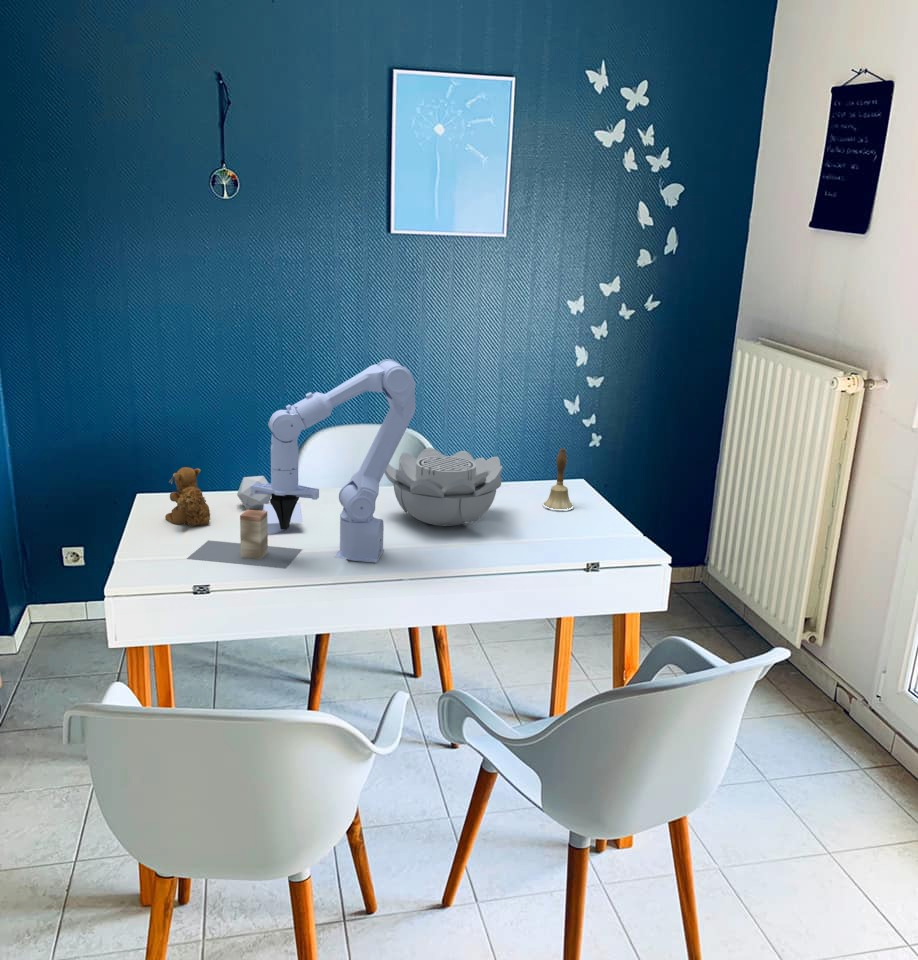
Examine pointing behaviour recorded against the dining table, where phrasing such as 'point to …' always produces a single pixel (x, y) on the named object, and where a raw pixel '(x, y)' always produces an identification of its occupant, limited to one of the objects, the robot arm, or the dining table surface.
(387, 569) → the dining table surface
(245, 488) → the die
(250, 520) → the maple block
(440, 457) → the decorative bowl
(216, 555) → the rubber mat
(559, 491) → the hand bell
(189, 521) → the brown furry figure
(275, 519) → the wedge on round base
